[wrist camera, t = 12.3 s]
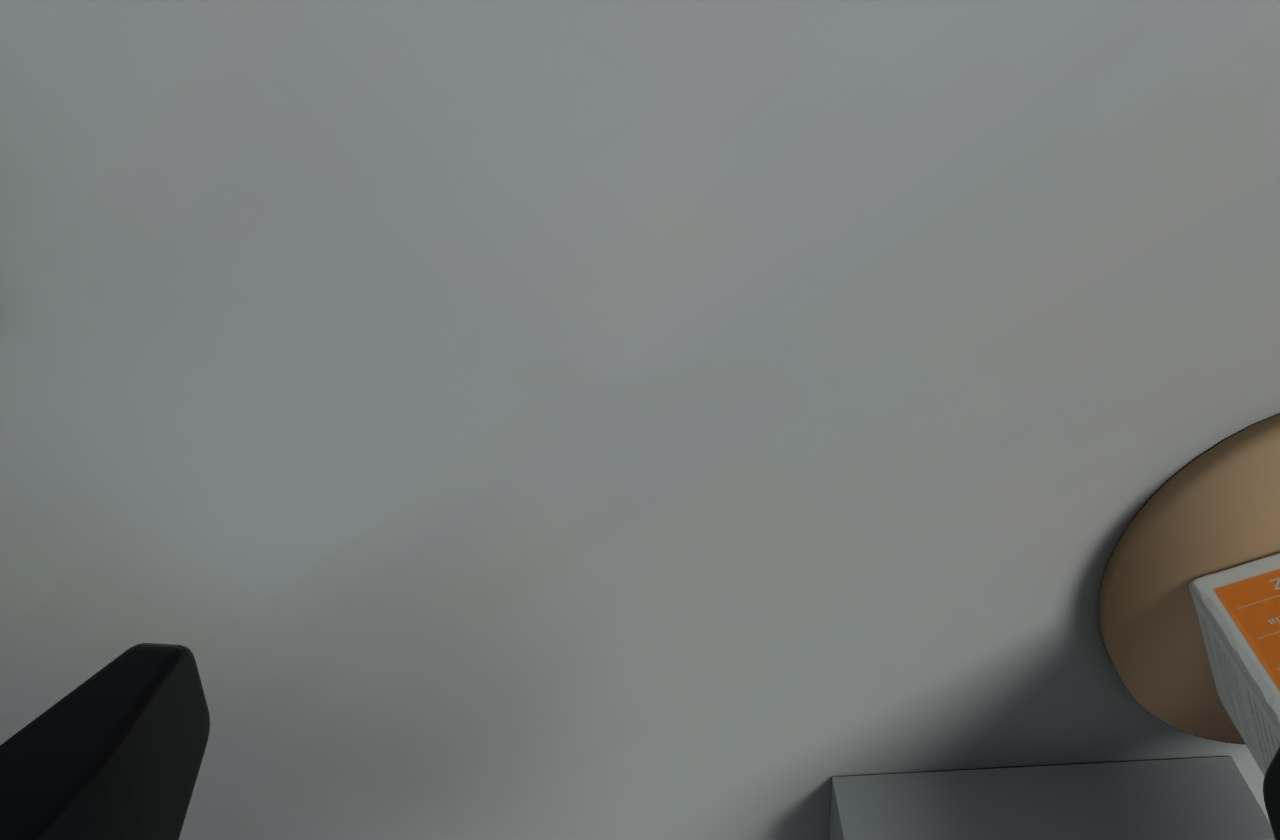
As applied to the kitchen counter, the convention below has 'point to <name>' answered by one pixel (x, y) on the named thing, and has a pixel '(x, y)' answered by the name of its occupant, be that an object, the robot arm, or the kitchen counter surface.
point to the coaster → (1189, 575)
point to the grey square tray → (1053, 803)
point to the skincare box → (1245, 648)
